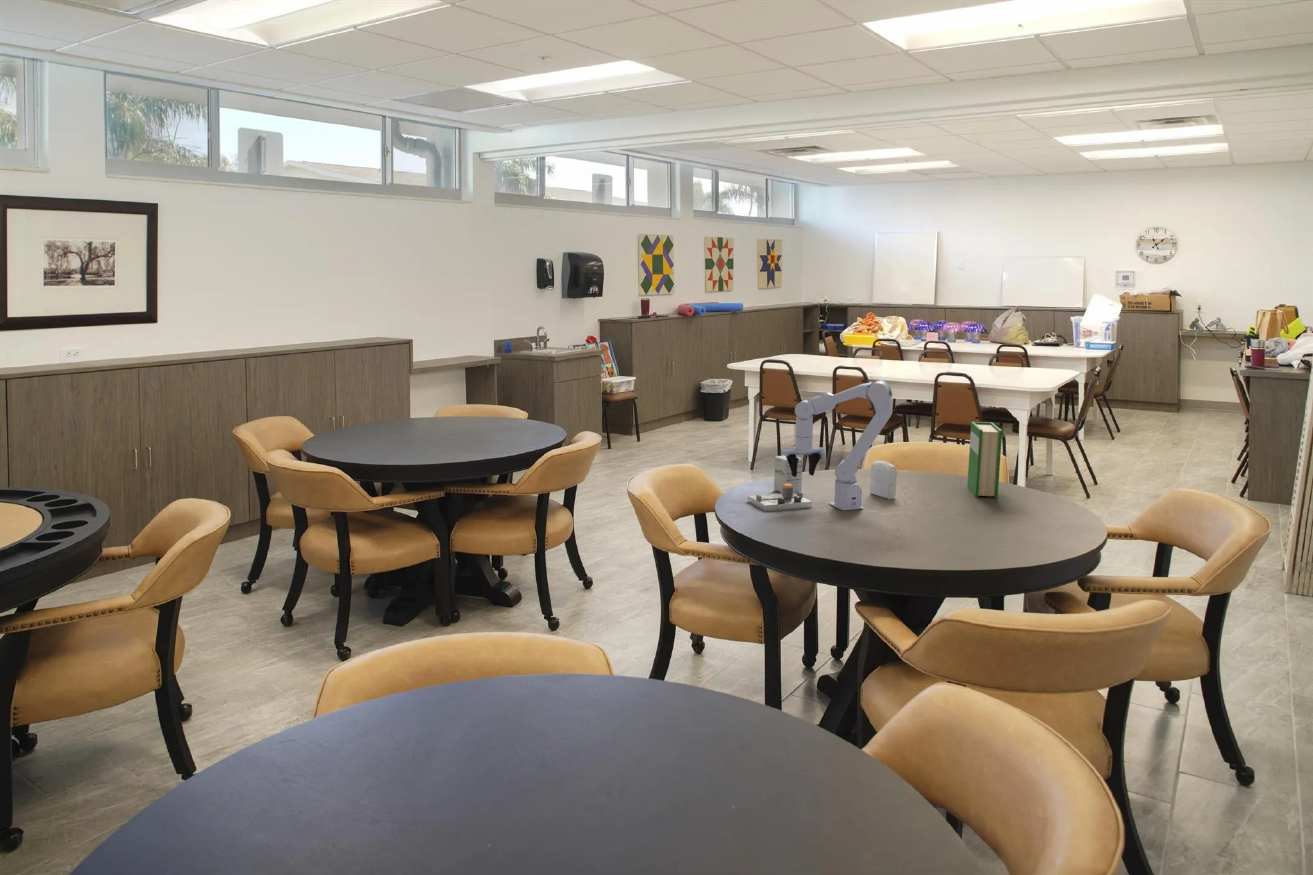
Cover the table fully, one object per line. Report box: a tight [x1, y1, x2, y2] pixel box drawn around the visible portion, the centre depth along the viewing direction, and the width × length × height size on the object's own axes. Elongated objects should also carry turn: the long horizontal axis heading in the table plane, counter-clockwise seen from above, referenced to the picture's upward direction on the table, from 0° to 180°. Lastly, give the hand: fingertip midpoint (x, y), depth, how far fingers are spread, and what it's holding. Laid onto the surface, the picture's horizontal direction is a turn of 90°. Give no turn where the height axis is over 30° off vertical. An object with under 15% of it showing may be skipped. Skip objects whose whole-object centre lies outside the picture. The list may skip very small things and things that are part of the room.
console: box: [747, 491, 813, 512], centre depth 316 cm, size 14×17×4 cm
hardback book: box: [966, 421, 1003, 499], centre depth 332 cm, size 18×7×24 cm, turn 171°
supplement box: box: [773, 455, 804, 494], centre depth 333 cm, size 7×7×13 cm
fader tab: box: [782, 483, 793, 498], centre depth 316 cm, size 3×3×4 cm
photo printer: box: [869, 460, 898, 500], centre depth 327 cm, size 10×4×12 cm, turn 28°
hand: (802, 475), depth 317 cm, fingers open, 6 cm apart
